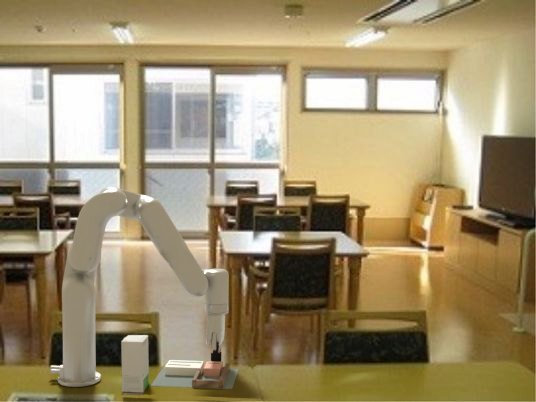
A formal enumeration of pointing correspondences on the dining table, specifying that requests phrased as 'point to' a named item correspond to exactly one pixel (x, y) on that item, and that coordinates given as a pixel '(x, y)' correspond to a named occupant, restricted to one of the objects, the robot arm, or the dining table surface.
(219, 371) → the pink block
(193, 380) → the tray
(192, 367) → the flat white box
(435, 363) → the dining table surface
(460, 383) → the dining table surface
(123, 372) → the skincare box
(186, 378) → the mat
